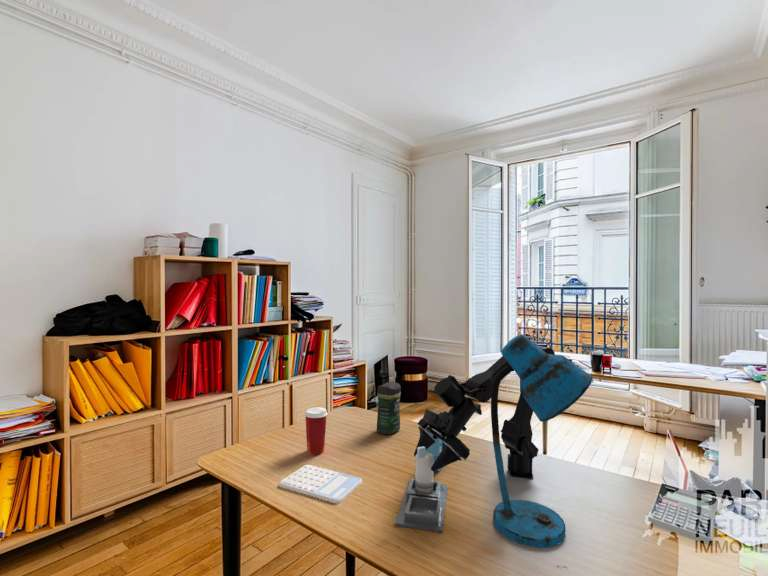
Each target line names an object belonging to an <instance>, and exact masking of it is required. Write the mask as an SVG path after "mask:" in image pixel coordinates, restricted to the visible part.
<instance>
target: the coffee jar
mask: <svg viewBox="0 0 768 576" xmlns="http://www.w3.org/2000/svg"><path fill="white" fill-rule="evenodd" d="M401 389H402V388H401V385H400V383H399V382H394V381H388V382H386V383H382V385H378V387H377V417H376V418H377V419H376V432H378V433H380V434H382V435H393V434H395V433H397V432H399V431H400V429H401V407H400V404H401V402H400V401H401V394H402V392H401V391H402V390H401Z"/></svg>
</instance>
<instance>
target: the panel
mask: <svg viewBox="0 0 768 576" xmlns="http://www.w3.org/2000/svg"><path fill="white" fill-rule="evenodd" d="M448 488H449V485H448V484H443V483H441V481H437V480H434V486H433V495H432V494H424V493H416V492H415V478H413V477H411V479H409V480H408V483H407V485H406V489H405V492H404V495H403V498H402V501H401V504H400V506H399V509H398V513H397V517H396V519H395V522H394V526H395V527H403V528H409V529H416V530H423V531H428V532H429V531H430V532H436V533H443V529H444V521H445V514H446V506H447V499H448V498H447V496H448Z"/></svg>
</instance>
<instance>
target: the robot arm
mask: <svg viewBox="0 0 768 576" xmlns="http://www.w3.org/2000/svg"><path fill="white" fill-rule="evenodd" d="M537 346H538V347H539V348H540V349H542V350H543V351H544V352H545V353H547V354H552V355H557V354H556V353H555V350H554V349H552V348H551V347H547V346H542V345H537ZM508 364H509V363H508V362H507V360H506V359H505V358H504V356H503V355H501V356H500V358H499V359H498V360H496V361H495V362H494V363H493V364H492V365H491V366H490V367H488V368H487V369H486V370H485V371H483V372H479V373H476V374H475V375H473V376H472V377H469V378H467V380H466V381H464V382H461V383H459V381H458V380H457V378H456V376H453V375H451V374H449V375H448V376H447V377H445V378H442V379H441V380H439V381H438V382H437V383H436V384H435V386H434V389H433V391H434V394H436V395H437V397H438V398H439V399H440V400H441V401H442V402H443V403H444V404H445V405H446V406H447V407H448V408H449V410H448V411H447V410H444V411H443V412H442V411H440V412H437V411H434V410H431V409H429V408H426V409H425V411H424V414H423V416H422V418H420V420H419V421H418V422H417V425H418V430H419V438H418V441H417V444H416V446H415V450H414V453H413V456H414V457H415V458H416V454H417V447H423V446H424V447H425V448H426V450H427V449H428V448H429V447H430V446H431V445H433V444H434V443H435V442H436V441H435V440H434V439H437V438H439V439H440V440H442V441H443V442H445V443H446V444H448V446H447V445H446V444H444V443H442V451H441V453H440V454H439V456H438V457H437V459H436V460H435V462H434V463H433V465H432V467H431V470H432V471H433V473H435V472H437V471H436V470H438V469H440V468H442V469H443V468H444V467H446V466H448V465H450V464H453V463H455V462H458V461H460V462H462V459H463V460H464V461H467V459H468V457H470V454H471V452H470V451H471V450H470V449H469V447H468V446H467V445H466V444H465V443H464V442H463V441H462V440H461V439H460V438H458V435H459V434H460V433H461V431H463V432H466V430H467V427H466V425H467V423H468V422H469V421H470V420H471V418H472V417H473V415H474V414H477V415H480V416H481V415H483V413H482V405H481V404H479V403H487V402H488V401H491V391H492V384H493V381H494V378H495V377H496V375H497V374H498V373H499V372H500V371H501V370H502V369H504V368H505V367H507V366H508ZM507 376H508V375H506V376H505V377H504V378H503V379H502V380H501V382H502V381H503V380H504V379H505V378H506V377H507ZM466 396H467V397H466ZM474 400H475V401H478V402H479V403H477V402H474ZM533 414H534V411H533V410H532V409H531V407H530V406H529V404H528V403H527V401H526V400H525V398H524V397H523V395H522V394H521V392H520V394H519V396H518V399H517V404H516V407H515V410H514V414H513V416H512V417H511V418H510V419H504V421H503V426H502V428H501V430H500V433H501V435H500V438H501V441H502V442H503V444H504V447H505V449H508V450H509V453H508V454H507V466H506V467H507V470H508V471H509V475H510V476H511V477H517V478H518V477H519V478H527V479H534V474H533V459H534V458H536V457H538V453H539V448H538V446H536V445H535V444H534V442H532V440H533V430H532V425H531V420H532V417H533ZM440 435H441V436H440ZM445 437H446V439H445ZM433 438H434V439H433Z"/></svg>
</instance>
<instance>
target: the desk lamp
mask: <svg viewBox="0 0 768 576" xmlns="http://www.w3.org/2000/svg"><path fill="white" fill-rule="evenodd" d="M538 346H539V345H537V344H535V342H533V341H532V340H531V339H529V338H528V337H527V336H526V335H524V334H522V333H521V334H518V335H516V336H514V337H512V339H510V340H509V341H508V342H507V343H506V344H505V345H504V346H503V347H502V349H501V351H500V352H501V356H504V358H505V359H506V360H507V362H508V363H509V364H508V366H507V367H505V368H504V369H502V370H501V371H500V372H499V373H498V374H497V375H496V377H495V378H494V381H493V384H492V391H491V398H490V419H491V421H490V422H491V432H492V433H491V436H492V443H493V444H492V445H493V450H494V451H493V452H494V459H495V465H496V472H497V478H498V482H499V483H498V484H499V489H500V494H501V499H502V502H500V503H498V504H496V505H495V507H494V509H493V517H492V518H493V519H492V521H493V524H494V526H495V528H496V529H497V530H498V531H499V532H500V533H501V534H502V535H503V536H505V537H506V538H507V539H509V540H510V541H513V542H515V543H518V544H520V545H523V546H528V547H532V546H533V548H539V547H541V548H551V547H550V546H552V547H554V546H553V545H556V544H558V543H560V542H562V541H564V540H565V539H566V534H565V532H566V523H565V521H564V519H563V518H562V517H561V515H560V514H559V513H557V512H556V511H554V510H553V509H551V508H550V507H548V506H546V505H544V504H541V503H538V502H534V501H530V500H526V499H524V500H523V499H510V497H509V491H508V485H507V480H506V475H505V474H506V473H505V469H504V468H505V467H504V462H503V455H502V448H501V440H500V438H501V436H500V425H499V413H498V412H499V411H498V409H499V388H500V385H501V383H502V381H503V380H504V379H505V378H506V377H507V376H508V375H510V374H511V373H512V372H515V374H516V375H517V376H518V378H519V392H520V393H521V394H522V395H523V397H524V398H525V400H526V401H527V403H528V404H529V406H530V407H531V409H532V410H533V414H534V415H535V416H536V417H537V419H538V420H539V421H540V422H548V421H550V420H552V419H554V418H556V417H558V416H559V415H561V414H562V413H564V412H565V411H566V410H568V409H570V407H572V406H573V405H574V404H575V403H576V402H577V401H578V400H580V398H582V396H584V394H585V393H586V392H587V390H588V389H589V388H590V386H591V385H592V383H593V380H594V378H593V376H592V375H591V374H590V373H588V372H587V371H585V370H584V369H582V367H580V366H578V365H577V364H575V363H574V362H572V361H571V360H570V359H569V358H567V357H566V356H565V355H562V354H556V355H552V354H547V353H545V352H544V351H543V350H542V349H540V348H539V347H538ZM506 375H507V376H506ZM505 376H506V377H505ZM504 377H505V378H504ZM503 378H504V379H503ZM502 379H503V380H502ZM501 380H502V381H501ZM564 538H565V539H564ZM563 539H564V540H563ZM562 543H563V542H562ZM560 544H561V543H560ZM558 545H559V544H558ZM556 546H557V545H556Z"/></svg>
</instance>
